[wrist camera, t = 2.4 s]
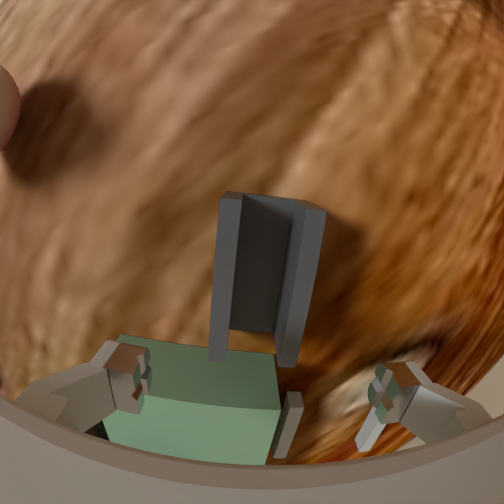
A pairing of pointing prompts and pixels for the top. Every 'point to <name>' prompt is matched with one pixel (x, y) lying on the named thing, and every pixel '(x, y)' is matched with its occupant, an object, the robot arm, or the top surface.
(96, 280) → the top surface
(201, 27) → the top surface
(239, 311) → the chute
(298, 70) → the top surface
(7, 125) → the decorative fruit
